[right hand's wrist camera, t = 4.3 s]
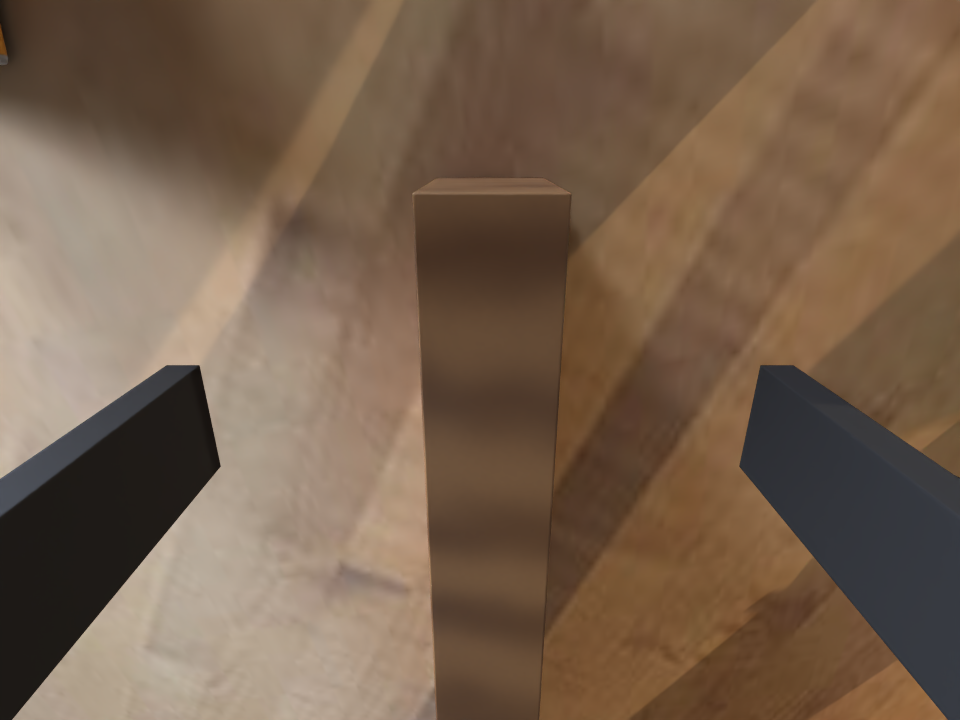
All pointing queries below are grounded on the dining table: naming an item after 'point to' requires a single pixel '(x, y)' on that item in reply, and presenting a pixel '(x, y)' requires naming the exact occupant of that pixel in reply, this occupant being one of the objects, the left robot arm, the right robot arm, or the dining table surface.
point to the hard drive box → (3, 50)
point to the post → (489, 430)
